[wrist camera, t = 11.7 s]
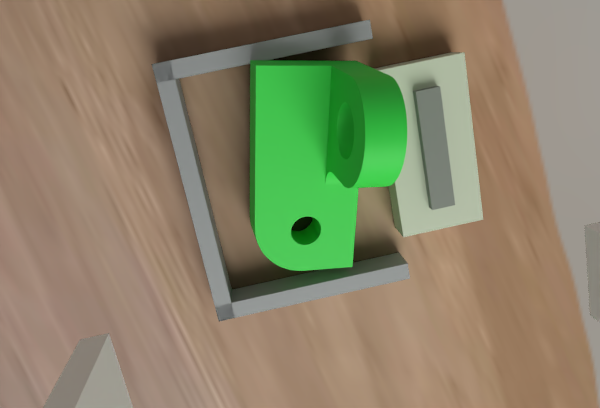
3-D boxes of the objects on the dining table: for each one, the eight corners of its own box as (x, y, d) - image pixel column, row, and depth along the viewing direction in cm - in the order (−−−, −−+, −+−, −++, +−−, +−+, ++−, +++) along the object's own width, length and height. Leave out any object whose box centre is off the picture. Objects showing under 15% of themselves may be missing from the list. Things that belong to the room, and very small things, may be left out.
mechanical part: (250, 60, 31) (278, 86, 24) (356, 60, 32) (413, 85, 25) (249, 259, 35) (273, 332, 28) (342, 252, 37) (388, 320, 29)
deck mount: (220, 307, 37) (218, 325, 34) (157, 63, 33) (149, 64, 30) (475, 249, 38) (491, 264, 35) (446, 4, 33) (462, 0, 31)
